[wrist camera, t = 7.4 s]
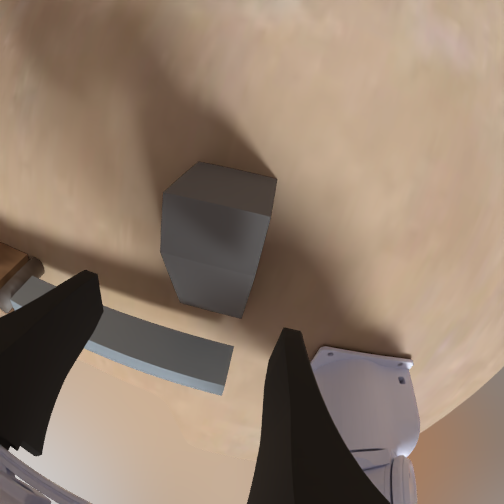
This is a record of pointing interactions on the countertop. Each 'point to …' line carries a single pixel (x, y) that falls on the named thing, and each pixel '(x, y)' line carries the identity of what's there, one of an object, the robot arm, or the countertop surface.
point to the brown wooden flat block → (15, 273)
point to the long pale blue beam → (149, 346)
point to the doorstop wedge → (215, 235)
